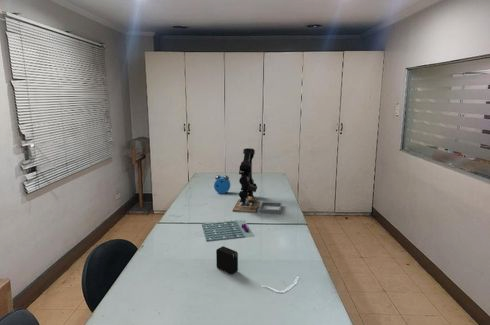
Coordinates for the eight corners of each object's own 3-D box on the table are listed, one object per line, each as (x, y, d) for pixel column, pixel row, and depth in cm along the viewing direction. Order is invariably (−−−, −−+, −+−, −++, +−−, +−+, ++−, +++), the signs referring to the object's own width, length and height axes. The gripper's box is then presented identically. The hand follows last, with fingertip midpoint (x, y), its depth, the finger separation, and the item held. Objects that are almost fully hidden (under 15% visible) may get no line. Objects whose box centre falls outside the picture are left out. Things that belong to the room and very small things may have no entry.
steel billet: (242, 205, 239) (242, 195, 238) (248, 206, 239) (249, 195, 237) (241, 207, 235) (241, 197, 233) (247, 208, 234) (248, 197, 233)
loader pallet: (238, 200, 255) (238, 195, 254) (259, 201, 252) (259, 196, 251) (232, 211, 232) (232, 205, 231) (255, 212, 229) (255, 207, 228)
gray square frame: (261, 204, 245) (261, 201, 244) (281, 206, 243) (281, 202, 242) (258, 212, 230) (258, 209, 229) (280, 213, 227) (280, 210, 227)
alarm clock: (230, 192, 276) (230, 174, 273) (229, 194, 270) (229, 176, 267) (215, 191, 277) (214, 174, 274) (214, 193, 271) (213, 176, 268)
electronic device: (222, 264, 161) (222, 245, 159) (238, 271, 155) (237, 251, 153) (216, 268, 158) (216, 248, 156) (232, 275, 152) (231, 255, 149)
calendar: (201, 224, 211) (201, 220, 211) (243, 220, 218) (243, 216, 218) (206, 242, 186) (206, 238, 185) (254, 237, 192) (254, 233, 192)
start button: (244, 199, 251) (244, 196, 251) (252, 199, 250) (252, 196, 250) (242, 202, 245) (242, 198, 245) (251, 202, 244) (251, 199, 243)
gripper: (254, 185, 222) (254, 207, 226) (258, 178, 240) (258, 198, 244) (238, 184, 224) (238, 206, 228) (243, 177, 242) (243, 197, 246)
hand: (245, 202), depth 236 cm, fingers open, 9 cm apart
